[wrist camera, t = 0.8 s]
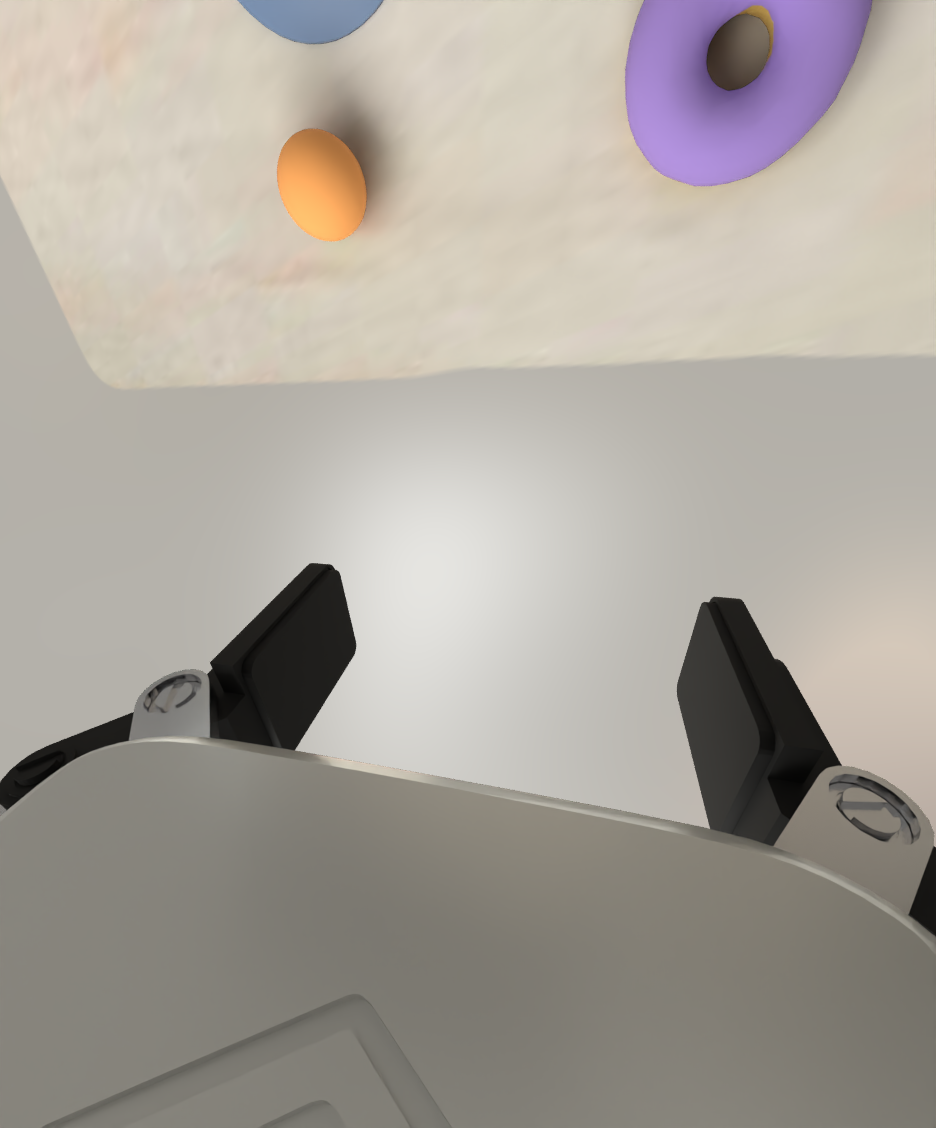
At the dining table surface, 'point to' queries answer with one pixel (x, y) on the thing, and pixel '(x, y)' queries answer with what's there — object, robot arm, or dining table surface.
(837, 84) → the donut
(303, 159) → the ball
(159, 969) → the robot arm
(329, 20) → the disc
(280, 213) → the dining table surface
